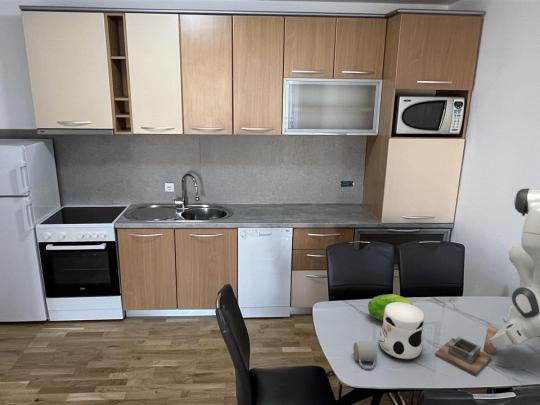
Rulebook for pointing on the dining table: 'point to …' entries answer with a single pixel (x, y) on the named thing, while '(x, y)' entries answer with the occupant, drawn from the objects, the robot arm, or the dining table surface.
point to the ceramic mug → (365, 352)
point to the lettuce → (383, 304)
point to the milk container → (402, 330)
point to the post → (489, 347)
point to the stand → (464, 355)
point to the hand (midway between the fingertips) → (490, 338)
